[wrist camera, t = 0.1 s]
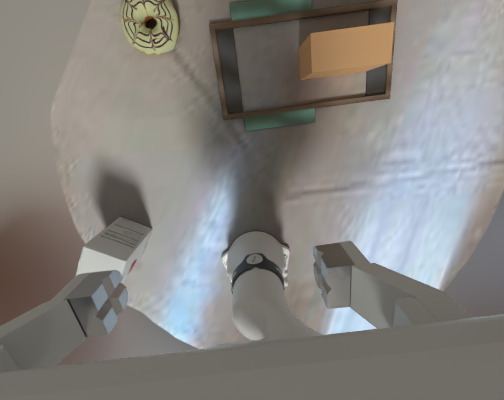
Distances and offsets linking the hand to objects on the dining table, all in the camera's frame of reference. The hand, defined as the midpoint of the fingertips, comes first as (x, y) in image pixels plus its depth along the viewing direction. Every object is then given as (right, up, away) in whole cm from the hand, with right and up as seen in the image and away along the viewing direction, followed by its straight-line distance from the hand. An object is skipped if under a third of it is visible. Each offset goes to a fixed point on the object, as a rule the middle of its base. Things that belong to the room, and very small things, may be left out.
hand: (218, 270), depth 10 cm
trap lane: (+12, +32, +40) cm, 53 cm away
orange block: (+18, +32, +40) cm, 55 cm away
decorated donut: (-18, +38, +37) cm, 56 cm away
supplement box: (-31, -7, +53) cm, 62 cm away
